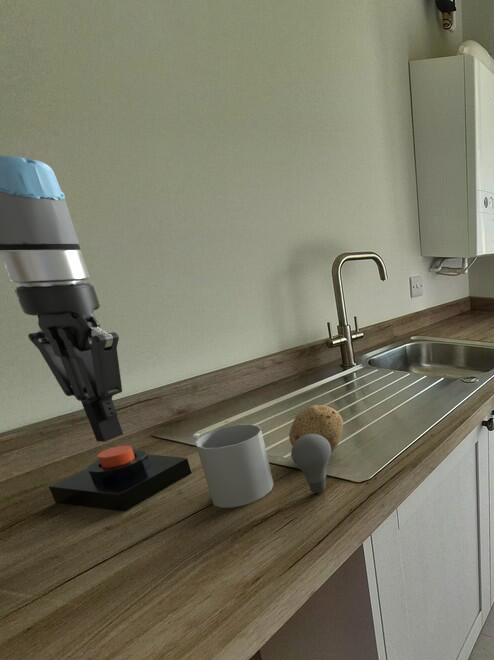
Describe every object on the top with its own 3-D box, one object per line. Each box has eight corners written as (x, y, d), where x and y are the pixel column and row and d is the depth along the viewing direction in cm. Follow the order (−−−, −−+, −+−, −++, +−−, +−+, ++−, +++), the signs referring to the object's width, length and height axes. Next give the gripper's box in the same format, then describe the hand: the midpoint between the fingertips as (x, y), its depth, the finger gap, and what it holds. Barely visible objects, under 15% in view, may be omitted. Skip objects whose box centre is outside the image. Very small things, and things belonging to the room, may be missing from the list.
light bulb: (344, 484, 67) (335, 429, 64) (324, 504, 62) (313, 445, 59) (314, 481, 68) (303, 426, 65) (291, 500, 63) (279, 442, 60)
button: (94, 468, 64) (90, 456, 63) (121, 455, 68) (118, 444, 67) (115, 470, 63) (111, 458, 63) (141, 457, 67) (138, 446, 66)
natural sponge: (292, 472, 71) (281, 419, 68) (295, 449, 79) (286, 401, 76) (348, 461, 75) (340, 410, 71) (346, 441, 82) (338, 394, 79)
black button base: (55, 503, 63) (43, 474, 61) (130, 466, 73) (121, 441, 72) (124, 511, 61) (114, 482, 59) (191, 473, 71) (184, 447, 69)
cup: (199, 500, 63) (182, 442, 60) (249, 474, 71) (236, 421, 67) (236, 512, 60) (220, 452, 57) (285, 484, 68) (273, 429, 64)
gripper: (121, 281, 59) (168, 430, 66) (50, 280, 61) (103, 425, 69) (58, 286, 52) (118, 452, 59) (-20, 285, 54) (47, 445, 62)
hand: (110, 437), depth 64 cm, fingers closed
